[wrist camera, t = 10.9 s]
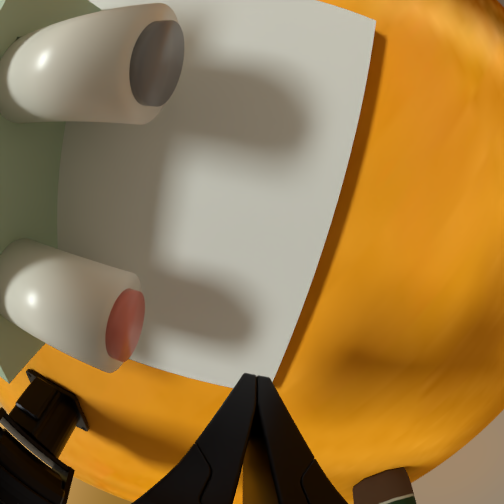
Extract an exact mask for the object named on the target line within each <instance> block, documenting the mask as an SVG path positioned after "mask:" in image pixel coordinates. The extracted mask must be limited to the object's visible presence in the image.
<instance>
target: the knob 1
mask: <svg viewBox="0 0 504 504" xmlns="http://www.w3.org/2000/svg"><path fill="white" fill-rule="evenodd" d="M183 60H184V36H183V32H182V29H181V27H180V25H179V23H178V20H177V17H176V15H175V13H174V11H173V10H172V9H171V8H170V7H169V6H168V5H166V4H164V3H151V4H141V5H133V6H126V7H120V8H114V9H108V10H103V11H99V12H94V13H90V14H86V15H82V16H78V17H74V18H71V19H67V20H64V21H61V22H58V23H55V24H52V25H49V26H46V27H43V28H41V29H38V30H35V31H33V32H30V33H28V34H26V35H24V36H22V37H20V38H19V39H17V40H16V41H15V42H14V43H13V44H12V45H11V46H10V47H9V48H8V49H7V50H6V52H5V53H4V55H3V56H2V58H1V60H0V113H1V114H2V116H3V117H4V118H6V119H7V120H9V121H11V122H14V123H32V122H64V121H75V122H108V123H124V124H137V125H143V124H146V123H148V122H150V121H151V120H153V119H154V118H155V117H156V116H157V115H158V113H159V112H160V111H161V109H162V108H163V106H164V104H165V103H166V102H167V101H168V100H169V98H170V97H171V95H172V94H173V92H174V90H175V88H176V85H177V83H178V80H179V77H180V74H181V70H182V65H183Z"/></svg>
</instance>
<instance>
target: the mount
mask: <svg viewBox="0 0 504 504" xmlns="http://www.w3.org/2000/svg"><path fill="white" fill-rule="evenodd" d="M151 3H164V4H166V5H168V6H169V7H170V8H171V9H172V10H173V11H174V13H175V15H176V17H177V20H178V23H179V25H180V27H181V29H182V32H183V36H184V60H183V65H182V70H181V74H180V77H179V80H178V83H177V85H176V88H175V90H174V92H173V94H172V95H171V97H170V98H169V100H168V101H167V102H166V103H165V104H164V106H163V108H162V109H161V111H160V112H159V113H158V115H157V116H156V117H155V118H154V119H153V120H151V121H150V122H148V123H146V124H143V125H137V124H124V123H108V122H75V121H64V122H32V123H14V122H11V121H9V120H7V119H6V118H4V117H3V116H2V114H1V113H0V255H1V254H2V252H3V251H4V250H5V248H6V247H7V246H8V245H9V244H11V243H12V242H14V241H15V240H18V239H22V238H27V239H31V240H34V241H36V242H39V243H42V244H45V245H48V246H50V247H53V248H56V249H59V250H62V251H65V252H68V253H71V254H74V255H77V256H80V257H83V258H86V259H89V260H92V261H96V262H99V263H102V264H105V265H108V266H112V267H115V268H118V269H122V270H125V271H128V272H132V273H134V274H136V275H137V276H138V278H139V280H140V283H141V288H142V294H143V296H144V300H145V314H144V321H143V326H142V331H141V334H140V337H139V340H138V343H137V345H136V348H135V350H134V352H133V353H132V355H131V356H130V358H129V359H131V360H134V361H136V362H139V363H142V364H145V365H148V366H151V367H154V368H158V369H161V370H164V371H167V372H171V373H174V374H178V375H181V376H185V377H188V378H192V379H196V380H200V381H204V382H208V383H212V384H217V385H221V386H226V387H230V388H234V387H235V385H236V384H237V382H238V381H239V379H240V378H241V376H242V375H243V374H244V373H249V374H255V375H256V377H257V376H258V375H260V376H266V377H269V378H270V379H271V381H272V382H273V380H274V377H275V375H276V373H277V370H278V368H279V366H280V363H281V361H282V358H283V356H284V354H285V351H286V349H287V346H288V344H289V341H290V339H291V336H292V334H293V331H294V329H295V326H296V323H297V321H298V318H299V316H300V313H301V310H302V308H303V305H304V302H305V299H306V297H307V294H308V291H309V288H310V285H311V283H312V280H313V277H314V274H315V271H316V268H317V265H318V262H319V259H320V256H321V253H322V250H323V247H324V244H325V241H326V238H327V235H328V231H329V228H330V225H331V222H332V218H333V215H334V212H335V208H336V205H337V202H338V198H339V195H340V191H341V187H342V184H343V180H344V177H345V173H346V169H347V165H348V161H349V157H350V154H351V150H352V146H353V141H354V137H355V133H356V129H357V124H358V120H359V115H360V111H361V106H362V101H363V97H364V92H365V86H366V81H367V76H368V70H369V65H370V59H371V53H372V46H373V40H374V33H375V25H376V21H375V20H373V19H370V18H368V17H365V16H363V15H360V14H357V13H355V12H352V11H349V10H346V9H343V8H340V7H337V6H334V5H330V4H327V3H324V2H320V1H316V0H0V60H1V58H2V56H3V55H4V53H5V52H6V50H7V49H8V48H9V47H10V46H11V45H12V44H13V43H14V42H15V41H16V40H17V39H19V38H20V37H22V36H24V35H26V34H28V33H30V32H33V31H35V30H38V29H41V28H43V27H46V26H49V25H52V24H55V23H58V22H61V21H64V20H67V19H71V18H74V17H78V16H82V15H86V14H90V13H94V12H99V11H103V10H108V9H114V8H120V7H126V6H133V5H141V4H151ZM44 344H45V342H43V341H41V340H40V339H38V338H36V337H34V336H33V335H31V334H29V333H28V332H26V331H24V330H23V329H21V328H20V327H18V326H16V325H15V324H13V323H12V322H10V321H9V320H7V319H6V318H4V317H3V316H2V315H1V314H0V376H1V377H2V378H3V379H4V380H5V381H7V382H8V383H9V384H10V382H11V381H12V380H13V379H14V378H15V377H16V375H17V374H18V373H19V372H20V371H21V370H22V368H23V367H24V366H25V365H26V364H27V363H28V362H29V361H30V359H31V358H32V357H33V356H34V355H35V354H36V353H37V352H38V351H39V350H40V348H41V347H42V346H43V345H44Z"/></svg>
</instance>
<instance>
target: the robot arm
mask: <svg viewBox="0 0 504 504" xmlns="http://www.w3.org/2000/svg"><path fill="white" fill-rule="evenodd" d="M26 373H27V376H28V378H29V380H30V382H31V383H30V385H29V386H28V387H27V388H26V390H25V391H24V392H23V394H22V395H21V396H20V398H19V399H18V400H17V401H16V405H15V407H14V408H13V409H12V411H11V412H10V414H9V415H8V414H7V413H6V411H5V410H4V409H3V408H2V407H1V408H0V423H1V424H2V425H3V426H4V427H5V428H6V429H7V430H8V431H10V432H11V433H12V434H13V435H14V436H15V437H16V438H17V439H18V440H19V441H20V442H21V443H22V444H23V445H25V446H26V447H27V448H28V449H29V450H30V451H32V452H33V453H34V454H35V455H37V456H38V457H39V458H40V459H41V460H43V461H44V462H45V463H47V464H48V465H49V466H51V467H52V469H51V468H50V467H48V466H47V465H46V464H45V463H43V462H42V461H41V460H40V459H38V458H37V457H36V456H35V455H33V454H32V453H31V452H30V451H29V450H27V449H26V448H25V447H24V446H23V445H22V444H21V443H20V442H18V441H17V440H16V439H15V438H14V437H13V436H12V435H11V434H10V433H9V432H8V431H7V430H6V429H2V428H1V427H0V504H66V503H67V499H68V495H69V491H70V486H71V482H72V478H73V475H74V471H75V470H74V469H72V468H71V467H69V466H67V465H66V464H64V463H63V462H61V461H60V460H59V459H58V458H59V456H60V454H61V452H62V450H63V448H64V447H65V445H66V443H67V441H68V439H69V437H70V436H71V434H72V432H73V430H74V429H75V427H76V426H77V427H79V428H81V429H83V430H85V431H88V430H89V426H88V424H87V422H86V419H85V417H84V415H83V412H82V410H81V407H80V405H79V402H78V399H77V398H76V397H75V396H74V395H73V394H71V393H69V392H68V391H66V390H64V389H62V388H60V387H58V386H57V385H55V384H53V383H51V382H50V381H48V380H46V379H45V378H43V377H41V376H40V375H38V374H37V373H35V372H33V371H32V370H30V369H28V370H27V371H26ZM242 465H243V504H348V503H347V502H346V501H345V499H344V498H343V497H342V496H341V495H340V493H339V492H338V491H337V490H336V489H335V487H334V486H333V485H332V483H331V482H330V481H329V479H328V478H327V476H326V475H325V473H324V472H323V470H322V469H321V467H320V466H319V464H318V462H317V460H316V459H314V456H313V454H312V452H311V450H310V449H309V447H308V445H307V444H306V442H305V440H304V438H303V437H302V435H301V433H300V431H299V430H298V428H297V426H296V424H295V423H294V421H293V419H292V417H291V415H290V414H289V412H288V410H287V408H286V406H285V405H284V403H283V401H282V399H281V397H280V396H279V394H278V392H277V390H276V388H275V386H274V384H273V383H272V381H271V379H270V378H269V377H266V376H260V375H258V376H257V377H256V375H255V374H249V373H244V374H243V375H242V376H241V378H240V379H239V381H238V382H237V384H236V385H235V387H234V388H233V390H232V391H231V393H230V394H229V396H228V397H227V399H226V400H225V401H224V403H223V404H222V406H221V407H220V409H219V410H218V411H217V413H216V414H215V416H214V417H213V419H212V420H211V421H210V423H209V424H208V425H207V427H206V428H205V430H204V431H203V432H202V434H201V435H200V436H199V438H198V439H197V440H196V442H195V444H193V446H192V447H191V448H190V450H189V451H188V452H187V453H186V455H185V456H184V457H183V458H182V459H181V461H180V462H179V463H178V464H177V465H176V466H175V467H174V468H173V469H172V470H171V471H170V472H169V473H168V474H167V475H166V476H165V477H163V478H162V479H161V480H160V481H159V482H158V483H157V484H155V485H154V486H153V487H152V488H151V489H149V490H148V491H147V492H146V493H145V494H143V495H142V496H141V497H140V498H138V499H137V500H136V501H134V502H133V503H131V504H233V500H234V496H235V493H236V489H237V485H238V481H239V477H240V473H241V469H242Z"/></svg>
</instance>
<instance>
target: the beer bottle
mask: <svg viewBox="0 0 504 504" xmlns="http://www.w3.org/2000/svg"><path fill="white" fill-rule="evenodd" d="M353 499H354V504H416V500H415V497H414V493H413V490H412V486H411V482H410V480H409V477H408V474H407V472H406V470H405V468H403V467H402V468H397V469H391V470H386V471H383V472H381V473H378V474H376V475H373V476H370V477H367V478H365V479H363V480H362V481H361V482H359V483H358V484H356V485H355V486H354V487H353Z"/></svg>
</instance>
